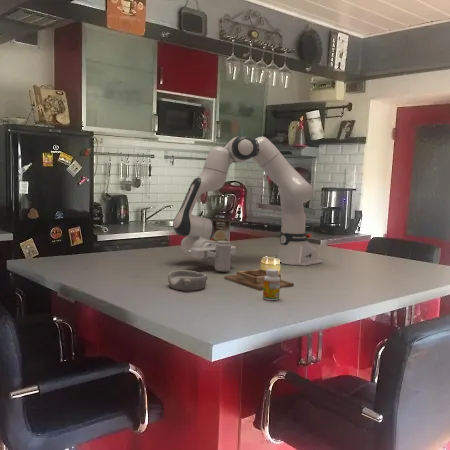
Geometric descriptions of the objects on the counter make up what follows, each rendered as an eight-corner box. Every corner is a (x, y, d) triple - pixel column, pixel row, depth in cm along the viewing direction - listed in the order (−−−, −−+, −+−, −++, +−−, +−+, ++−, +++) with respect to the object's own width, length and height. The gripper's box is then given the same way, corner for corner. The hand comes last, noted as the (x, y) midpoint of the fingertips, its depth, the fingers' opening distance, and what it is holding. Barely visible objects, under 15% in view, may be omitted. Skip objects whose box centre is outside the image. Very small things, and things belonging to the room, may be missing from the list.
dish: (191, 294, 172) (192, 279, 171) (159, 287, 179) (159, 273, 179) (215, 286, 184) (215, 273, 184) (184, 281, 191) (184, 268, 191)
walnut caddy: (256, 275, 207) (257, 266, 206) (293, 286, 189) (294, 276, 189) (224, 278, 198) (224, 269, 197) (259, 290, 180) (260, 280, 179)
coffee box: (211, 250, 268) (212, 219, 267) (212, 248, 275) (213, 218, 273) (228, 251, 268) (229, 220, 266) (229, 249, 274) (230, 219, 272)
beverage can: (228, 272, 207) (229, 243, 205) (213, 271, 208) (214, 241, 207) (231, 269, 213) (232, 240, 212) (216, 268, 214) (217, 239, 213)
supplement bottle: (261, 296, 171) (262, 268, 170) (277, 297, 171) (278, 268, 170) (264, 300, 166) (265, 271, 165) (280, 301, 166) (282, 271, 165)
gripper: (184, 243, 214) (202, 248, 203) (225, 241, 225) (243, 245, 214) (184, 258, 215) (202, 264, 203) (224, 255, 226) (243, 260, 215)
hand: (223, 254), depth 209 cm, fingers closed on beverage can, 6 cm apart
